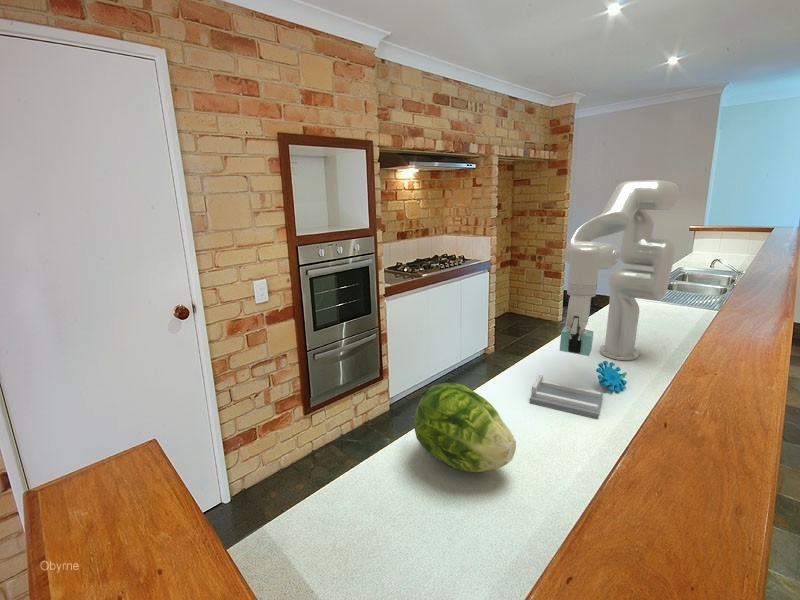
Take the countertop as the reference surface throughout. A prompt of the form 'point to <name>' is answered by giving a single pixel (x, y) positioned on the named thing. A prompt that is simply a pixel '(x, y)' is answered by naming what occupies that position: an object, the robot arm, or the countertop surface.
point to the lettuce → (462, 429)
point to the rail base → (566, 398)
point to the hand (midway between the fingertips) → (575, 348)
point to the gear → (611, 376)
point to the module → (585, 339)
